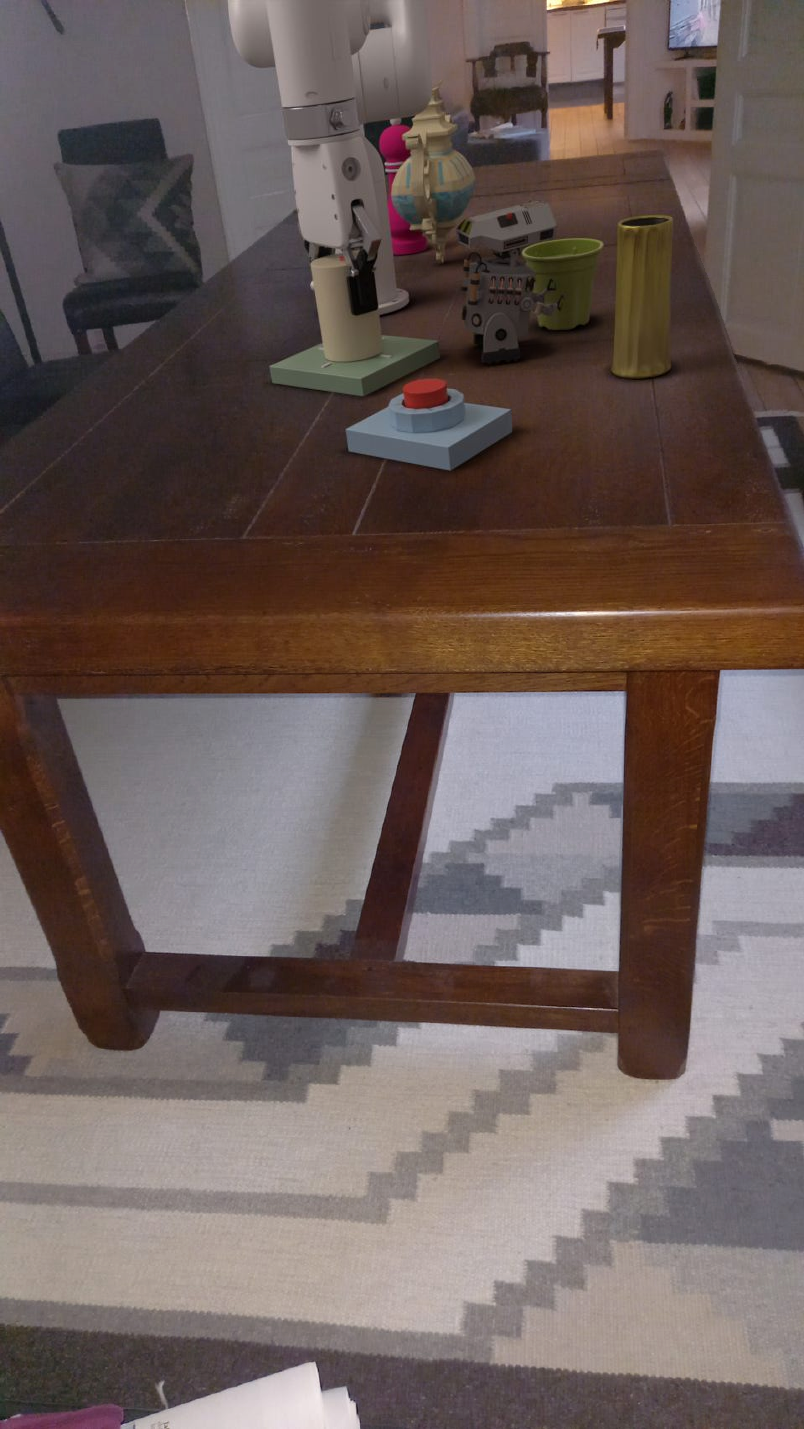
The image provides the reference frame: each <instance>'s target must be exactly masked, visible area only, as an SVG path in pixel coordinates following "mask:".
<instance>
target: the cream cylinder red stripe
mask: <svg viewBox="0 0 804 1429" xmlns="http://www.w3.org/2000/svg"><path fill="white" fill-rule="evenodd" d="M358 253H359V252H353V255H354V258H355V260H356V258H357V255H358ZM310 271H311V278H312V281H313V284H314V290H315V291H314V295H315V302H316V310H317V316H318V323H319V326H320V327H319V328H320V335H321V341H322V342H321V343H323V348H324V355H325V358H326V359H328V360H330V361H336V362H350V361H358V360H363V359H367V358H371V357H373V356H376V355H378V354H380V353H381V352H382V351H383V342H382V335H383V333H382V326H381V318H380V315H379V308H378V309H377V310H376V311H372V312H369V313H365V314H361V315H358V316H355V315H353V314H352V313H351V307H350V300H349V293H348V285H347V278H346V277H347V276H351V275H350V273H349V270H348V267H347V265H346V262H345V259H344V256H343V253H340V254H334V255H329V256H325V257H321V258H318V259H316V260H314V261H312V262H311V266H310Z"/></svg>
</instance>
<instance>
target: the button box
mask: <svg viewBox="0 0 804 1429" xmlns="http://www.w3.org/2000/svg"><path fill="white" fill-rule="evenodd" d="M447 395H448V402H447V403H446V404H444V405H441V406H437V407H433V408H429V409H411V408H406V407H405V401H404V392H402V393H400V394H399V395H397V396H395V397H393V398H391V399H390V402H389V403H388V406H387V407H385V408H383V409H381V410H379V411H377V412H376V413H373V414H371V416H370V415H369V416H368V417H366V418H365V419H362V420H360V421H359V422H357V423H355V424H352V425H351V426H349V427H347V428H346V429H345V435H346V442H347V448H348V452H351V453H354V454H355V453H356V454H361V455H366V456H370V457H371V456H372V457H377V458H382V459H386V460H393V461H397V462H403V463H407V464H408V463H409V464H414V465H419V466H425V467H429V468H434V469H440V470H445V471H453V470H454V469H456V468H457V467H459V466H460V465H462V464H464V463H465V462H467V461H468V460H470V459H472V458H473V457H475V456H476V455H478V454H479V453H480V452H483V451H484V450H486V449H487V448H489V447H490V446H492V445H493V444H495V443H497V442H498V441H500V440H501V439H504V438H505V437H506V436H508V435H510V434H511V433H513V418H512V409H511V408H504V407H497V406H489V405H483V404H477V403H476V404H474V403H469V402H465V395H464V393H462V392H461V391H459V390H457V389H456V388H455V389H454V388H448V387H447Z"/></svg>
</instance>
